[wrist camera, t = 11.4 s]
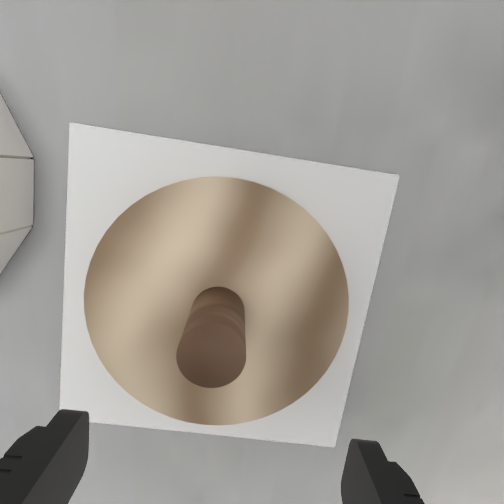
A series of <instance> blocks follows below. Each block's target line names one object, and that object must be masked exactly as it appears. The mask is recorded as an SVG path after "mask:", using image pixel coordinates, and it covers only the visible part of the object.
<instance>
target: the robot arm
mask: <svg viewBox="0 0 504 504" xmlns="http://www.w3.org/2000/svg"><path fill="white" fill-rule="evenodd" d="M88 448H89V413H88V412H87V411H79V410H69V409H61V410H59V411H58V412H57V414H56V415H55V416H54V417H53V419H52V420H51V421H50V422H49V424H48V425H47V426H46V427H42V426H36V427H35V428H33V429H32V430H30V431H29V432H27V433H26V434H24V435H23V436H21V437H20V438H18V439H17V440H16V442H15V443H14V444H13V445H12V446H11V447H10V449H9V450H8V451H7V452H6V453H5V454H4V457H3V458H1V459H0V504H68V502H69V500H70V498H71V497H72V495H73V493H74V491H75V489H76V487H77V485H78V484H79V482H80V480H81V478H82V476H83V473H84V471H85V468H86V464H87V460H88ZM341 496H342V502H343V504H424V502H423V500H422V499H420V494H419V493H418V491H417V489H416V487H415V485H414V483H413V481H412V479H411V478H410V477H409V475H408V474H407V473H406V472H405V471H404V470H403V469H402V468H401V467H400V466H399V465H398V464H397V463H396V462H389V461H388V460H387V458H386V456H385V454H384V452H383V450H382V448H381V446H380V444H379V443H378V442H377V441H370V440H360V439H352V440H351V441H350V444H349V448H348V453H347V457H346V462H345V466H344V471H343V475H342V480H341Z"/></svg>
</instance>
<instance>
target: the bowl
mask: <svg viewBox="0 0 504 504" xmlns="http://www.w3.org/2000/svg"><path fill="white" fill-rule="evenodd" d="M32 157H33V155H32V153H31V151H30V149H29V147H28V146H27V144H26V142H25V140H24V138H23V136H22V134H21V132H20V130H19V128H18V126H17V124H16V122H15V121H14V119H13V117H12V115H11V113H10V111H9V109H8V107H7V105H6V103H5V101H4V99H3V98H2V96H1V94H0V274H1V272H2V271H3V270H4V268H5V267H6V265H7V264H8V262H9V261H10V259H11V258H12V256H13V255H14V253H15V252H16V250H17V249H18V247H19V246H20V245H21V243H22V242H23V240H24V239H25V237H26V236H27V234H28V233H29V231H30V230H31V228H32V226H30V225H33V199H34V160H33V159H29V158H32Z"/></svg>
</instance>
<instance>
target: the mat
mask: <svg viewBox="0 0 504 504" xmlns="http://www.w3.org/2000/svg"><path fill="white" fill-rule="evenodd" d="M201 177H229V178H238V179H243V180H247V181H252V182H255V183H258V184H261V185H264V186H266V187H269V188H272V189H273V190H275V191H277V192H279V193H281V194H283V195H285V196H287V197H289V198H290V199H291V200H293V201H294V202H296V203H297V204H298V205H300V206H301V207H303V208H304V209H305V210H306V211H307V212H308V213H309V214H310V215H311V216H312V217H313V218H314V219H315V220H317V222H318V223H319V224H320V225H321V227H322V228H323V229H324V230H325V232H326V233H327V234H328V236H329V238H330V239H331V241H332V243H333V244H334V246H335V248H336V250H337V252H338V254H339V257H340V259H341V262H342V264H343V268H344V271H345V275H346V279H347V286H348V294H349V312H348V319H347V325H346V330H345V333H344V337H343V340H342V343H341V345H340V348H339V350H338V352H337V354H336V356H335V358H334V360H333V362H332V363H331V365H330V366H329V368H328V370H327V371H326V372H325V374H324V375H323V376H322V377H321V379H320V380H319V381H318V382H317V383H316V384H315V385H314V386H313V387H312V388H311V389H310V390H309V391H308V392H307V393H306V394H305V395H303V396H302V397H301V398H299V399H298V400H297V401H295V402H294V403H292V404H291V405H289V406H287V407H285V408H284V409H282V410H280V411H278V412H276V413H274V414H271V415H269V416H267V417H264V418H260V419H257V420H254V421H250V422H245V423H240V424H234V425H201V424H195V423H189V422H185V421H181V420H178V419H174V418H171V417H168V416H166V415H163V414H161V413H159V412H156V411H154V410H153V409H151V408H149V407H147V406H145V405H144V404H142V403H141V402H139V401H138V400H136V399H135V398H134V397H132V396H131V395H130V394H128V393H127V392H126V391H125V390H124V389H123V388H122V387H121V386H120V385H119V384H118V383H117V382H116V381H115V380H114V379H113V377H112V376H111V375H110V374H109V373H108V371H107V370H106V368H105V367H104V365H103V364H102V362H101V361H100V359H99V357H98V355H97V353H96V351H95V349H94V347H93V345H92V342H91V339H90V336H89V333H88V329H87V325H86V319H85V313H84V288H85V280H86V275H87V272H88V268H89V264H90V261H91V259H92V256H93V254H94V252H95V249H96V247H97V245H98V243H99V242H100V240H101V239H102V237H103V235H104V234H105V232H106V231H107V229H108V228H109V227H110V226H111V225H112V223H113V222H114V221H115V220H116V219H117V217H119V216H120V215H121V214H122V213H123V212H124V211H125V210H126V209H127V208H129V207H130V206H131V205H132V204H134V203H135V202H137V201H138V200H140V199H141V198H143V197H144V196H146V195H147V194H149V193H151V192H154V191H156V190H158V189H160V188H162V187H164V186H167V185H170V184H173V183H177V182H180V181H184V180H190V179H195V178H201ZM399 177H400V175H395V174H389V173H383V172H376V171H370V170H364V169H358V168H351V167H345V166H339V165H333V164H327V163H320V162H314V161H308V160H302V159H295V158H289V157H283V156H277V155H270V154H264V153H258V152H252V151H245V150H239V149H233V148H227V147H220V146H214V145H208V144H202V143H196V142H189V141H183V140H177V139H171V138H164V137H158V136H152V135H146V134H139V133H133V132H127V131H121V130H114V129H108V128H102V127H96V126H89V125H83V124H77V123H71V122H70V129H69V157H68V185H67V213H66V241H65V270H64V298H63V326H62V354H61V382H60V410H61V409H69V410H79V411H87V412H88V413H89V422H95V423H104V424H114V425H124V426H133V427H143V428H152V429H162V430H172V431H181V432H191V433H201V434H210V435H220V436H230V437H239V438H249V439H258V440H268V441H278V442H287V443H297V444H307V445H316V446H326V447H335V445H336V441H337V436H338V432H339V428H340V424H341V420H342V416H343V411H344V407H345V403H346V399H347V395H348V390H349V386H350V382H351V378H352V374H353V370H354V365H355V361H356V357H357V353H358V349H359V345H360V340H361V336H362V332H363V328H364V324H365V319H366V315H367V311H368V307H369V303H370V299H371V294H372V290H373V286H374V282H375V278H376V273H377V269H378V265H379V261H380V257H381V253H382V248H383V244H384V240H385V236H386V232H387V228H388V223H389V219H390V215H391V211H392V207H393V202H394V198H395V194H396V190H397V186H398V182H399Z"/></svg>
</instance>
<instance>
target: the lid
mask: <svg viewBox="0 0 504 504" xmlns="http://www.w3.org/2000/svg"><path fill="white" fill-rule="evenodd" d="M348 312H349V294H348V286H347V279H346V275H345V271H344V268H343V264H342V262H341V259H340V257H339V254H338V252H337V250H336V248H335V246H334V244H333V243H332V241H331V239H330V238H329V236H328V234H327V233H326V232H325V230H324V229H323V228H322V227H321V225H320V224H319V223H318V222H317V220H315V219H314V218H313V217H312V216H311V215H310V214H309V213H308V212H307V211H306V210H305V209H304V208H303V207H301V206H300V205H298V204H297V203H296V202H294V201H293V200H291V199H290V198H289V197H287V196H285V195H283V194H281V193H279V192H277V191H275V190H273V189H272V188H269V187H266V186H264V185H261V184H258V183H255V182H252V181H247V180H243V179H238V178H229V177H201V178H195V179H190V180H184V181H180V182H177V183H173V184H170V185H167V186H164V187H162V188H160V189H158V190H156V191H154V192H151V193H149V194H147V195H146V196H144V197H143V198H141V199H140V200H138V201H137V202H135V203H134V204H132V205H131V206H130V207H129V208H127V209H126V210H125V211H124V212H123V213H122V214H121V215H120V216H119V217H117V219H116V220H115V221H114V222H113V223H112V225H111V226H110V227H109V228H108V229H107V231H106V232H105V234H104V235H103V237H102V239H101V240H100V242H99V243H98V245H97V247H96V249H95V252H94V254H93V256H92V259H91V261H90V264H89V268H88V272H87V275H86V280H85V288H84V313H85V319H86V325H87V329H88V333H89V336H90V339H91V342H92V345H93V347H94V349H95V351H96V353H97V355H98V357H99V359H100V361H101V362H102V364H103V365H104V367H105V368H106V370H107V371H108V373H109V374H110V375H111V376H112V377H113V379H114V380H115V381H116V382H117V383H118V384H119V385H120V386H121V387H122V388H123V389H124V390H125V391H126V392H127V393H128V394H130V395H131V396H132V397H134V398H135V399H136V400H138V401H139V402H141V403H142V404H144V405H145V406H147V407H149V408H151V409H153V410H154V411H156V412H159V413H161V414H163V415H166V416H168V417H171V418H174V419H178V420H181V421H185V422H189V423H195V424H201V425H234V424H240V423H245V422H250V421H254V420H257V419H260V418H264V417H267V416H269V415H271V414H274V413H276V412H278V411H280V410H282V409H284V408H285V407H287V406H289V405H291V404H292V403H294V402H295V401H297V400H298V399H299V398H301V397H302V396H303V395H305V394H306V393H307V392H308V391H309V390H310V389H311V388H312V387H313V386H314V385H315V384H316V383H317V382H318V381H319V380H320V379H321V377H322V376H323V375H324V374H325V372H326V371H327V370H328V368H329V366H330V365H331V363H332V362H333V360H334V358H335V356H336V354H337V352H338V350H339V348H340V345H341V343H342V340H343V337H344V333H345V330H346V325H347V319H348Z"/></svg>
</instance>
